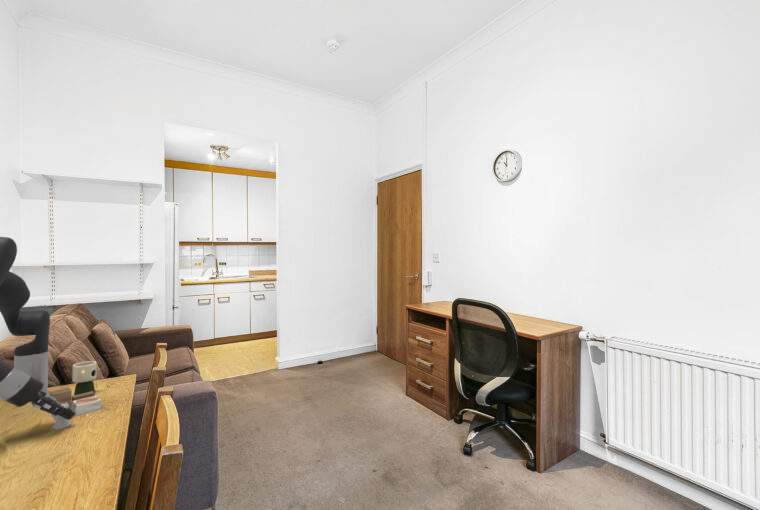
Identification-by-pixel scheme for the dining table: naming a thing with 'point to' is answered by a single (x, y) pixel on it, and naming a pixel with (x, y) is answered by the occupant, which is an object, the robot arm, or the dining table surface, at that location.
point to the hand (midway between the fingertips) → (70, 414)
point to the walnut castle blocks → (68, 395)
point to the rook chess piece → (62, 420)
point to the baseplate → (79, 414)
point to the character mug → (84, 376)
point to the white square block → (86, 405)
